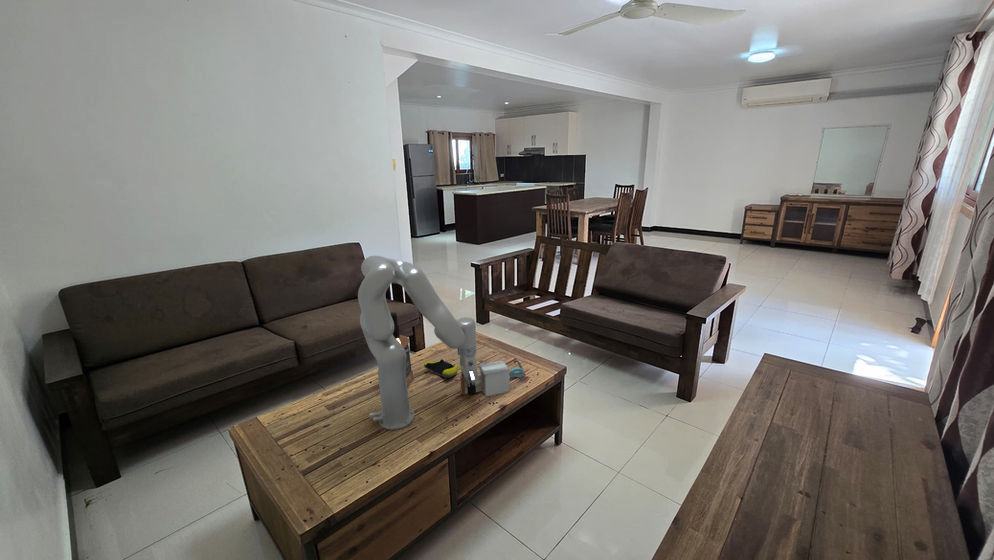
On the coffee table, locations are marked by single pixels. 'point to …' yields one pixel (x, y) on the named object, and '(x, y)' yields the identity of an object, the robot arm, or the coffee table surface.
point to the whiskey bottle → (404, 343)
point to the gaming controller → (441, 368)
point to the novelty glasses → (516, 370)
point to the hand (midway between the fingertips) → (468, 387)
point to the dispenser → (495, 378)
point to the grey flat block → (478, 381)
